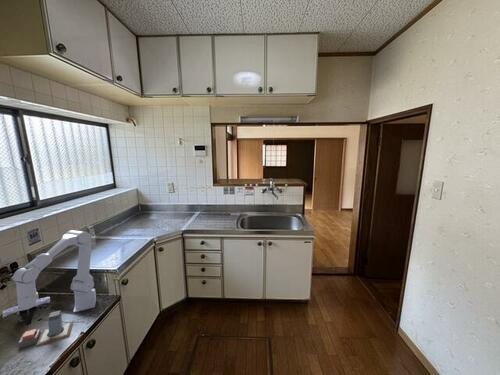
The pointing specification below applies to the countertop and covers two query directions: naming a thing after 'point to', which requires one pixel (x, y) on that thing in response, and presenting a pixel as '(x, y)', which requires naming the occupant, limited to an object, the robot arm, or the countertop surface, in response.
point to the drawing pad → (64, 333)
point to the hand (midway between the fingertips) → (28, 323)
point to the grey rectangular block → (55, 323)
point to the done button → (29, 334)
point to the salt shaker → (21, 317)
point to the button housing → (29, 340)
